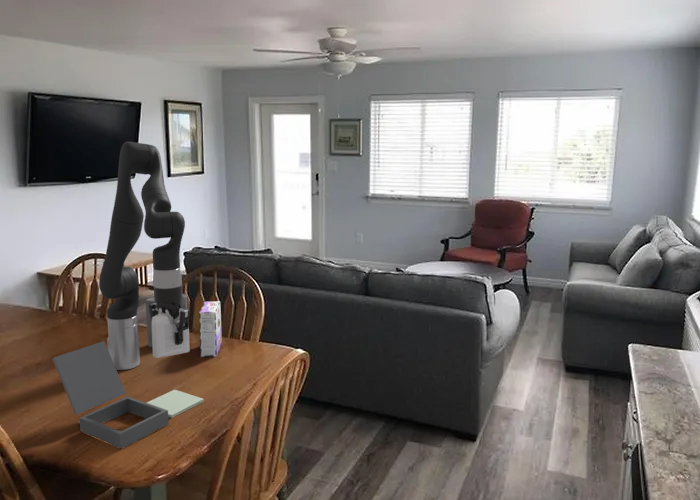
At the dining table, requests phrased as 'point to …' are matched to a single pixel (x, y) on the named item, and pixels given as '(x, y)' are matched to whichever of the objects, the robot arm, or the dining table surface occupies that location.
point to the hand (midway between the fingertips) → (170, 341)
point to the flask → (148, 316)
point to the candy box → (210, 329)
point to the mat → (176, 402)
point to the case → (120, 439)
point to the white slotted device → (167, 337)
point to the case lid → (89, 377)
